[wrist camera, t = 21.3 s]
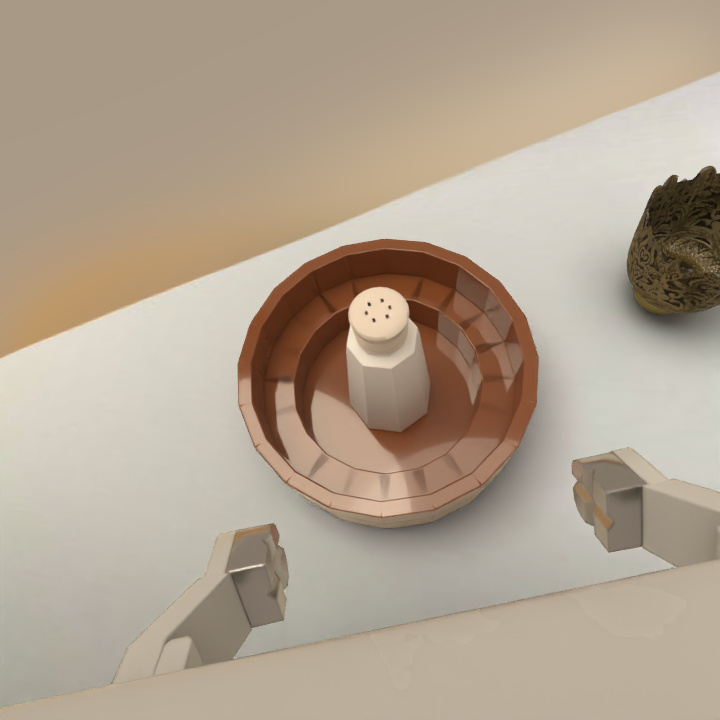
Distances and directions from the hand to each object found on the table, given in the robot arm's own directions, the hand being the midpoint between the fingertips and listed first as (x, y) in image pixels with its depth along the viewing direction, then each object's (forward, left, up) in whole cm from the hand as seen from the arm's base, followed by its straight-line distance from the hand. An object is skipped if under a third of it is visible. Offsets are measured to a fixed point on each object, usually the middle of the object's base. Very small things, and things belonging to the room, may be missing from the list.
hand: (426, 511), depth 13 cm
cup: (+14, +19, -17) cm, 29 cm away
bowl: (-3, +9, -17) cm, 20 cm away
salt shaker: (-3, +9, -17) cm, 19 cm away
